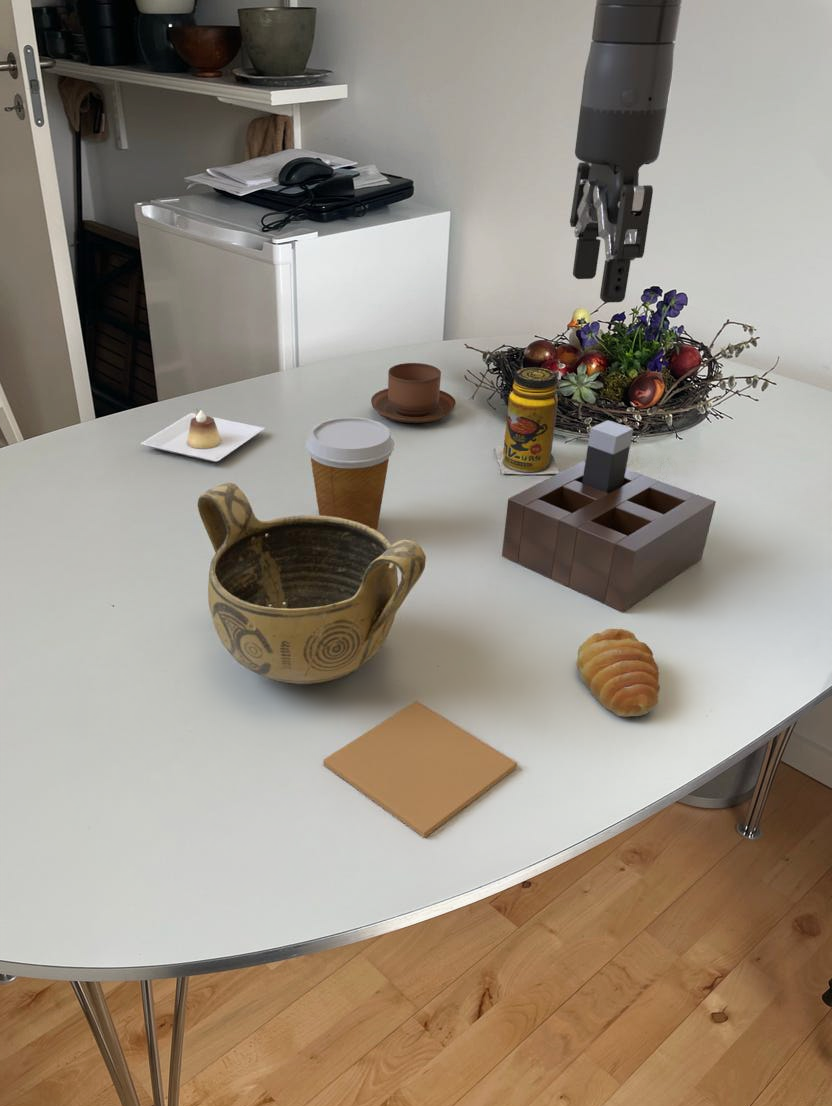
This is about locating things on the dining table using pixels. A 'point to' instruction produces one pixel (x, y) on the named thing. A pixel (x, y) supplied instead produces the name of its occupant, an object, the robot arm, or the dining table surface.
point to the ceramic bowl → (302, 588)
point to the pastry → (619, 672)
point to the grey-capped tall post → (607, 456)
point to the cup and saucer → (413, 395)
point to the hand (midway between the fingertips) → (597, 289)
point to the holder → (607, 534)
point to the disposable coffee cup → (350, 467)
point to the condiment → (530, 424)
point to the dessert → (202, 437)
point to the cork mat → (420, 767)
